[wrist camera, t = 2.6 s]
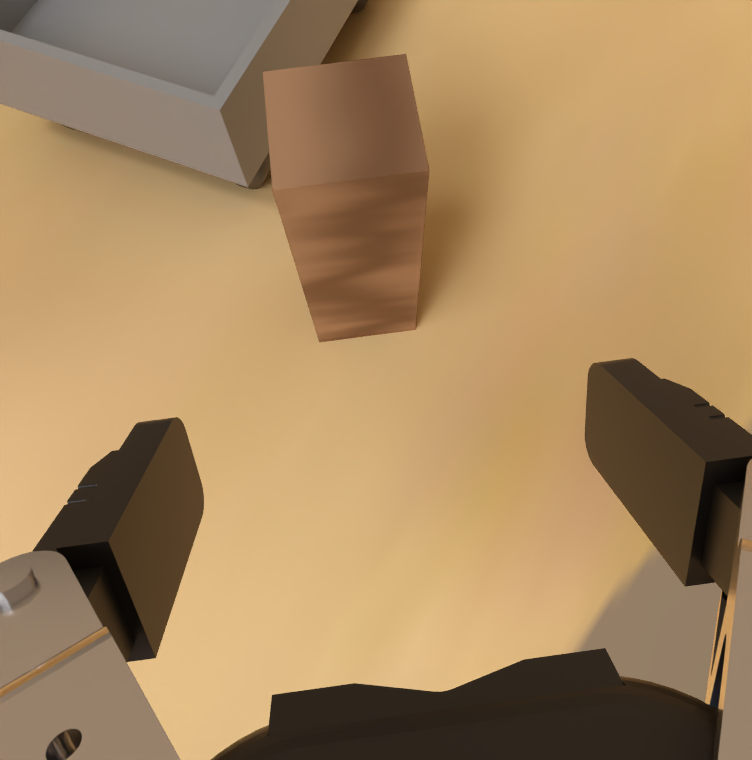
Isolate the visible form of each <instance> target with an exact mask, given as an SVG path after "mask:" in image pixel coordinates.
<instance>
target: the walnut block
mask: <svg viewBox="0 0 752 760" xmlns="http://www.w3.org/2000/svg"><path fill="white" fill-rule="evenodd" d="M263 81H264V93H265V105H266V118H267V130H268V142H269V155H270V167H271V179H272V190H273V194H274V197H275V200H276V203H277V207H278V210H279V213H280V216H281V220H282V223H283V226H284V229H285V232H286V236H287V239H288V242H289V245H290V249H291V252H292V255H293V258H294V261H295V265H296V268H297V271H298V274H299V278H300V281H301V284H302V287H303V291H304V294H305V297H306V300H307V303H308V307H309V310H310V313H311V316H312V320H313V323H314V326H315V329H316V332H317V336H318V339H319V342H324V341H332V340H340V339H347V338H355V337H363V336H370V335H378V334H386V333H393V332H401V331H408V330H415V327H416V316H417V304H418V293H419V281H420V270H421V259H422V247H423V236H424V224H425V213H426V201H427V190H428V178H429V167H428V162H427V157H426V152H425V147H424V142H423V137H422V132H421V127H420V122H419V117H418V112H417V107H416V102H415V97H414V92H413V87H412V82H411V76H410V71H409V66H408V61H407V56H406V54H403V55H395V56H386V57H378V58H370V59H362V60H354V61H346V62H338V63H329V64H321V65H313V66H305V67H297V68H289V69H281V70H272V71H264V72H263Z"/></svg>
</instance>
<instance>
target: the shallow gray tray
mask: <svg viewBox="0 0 752 760" xmlns="http://www.w3.org/2000/svg"><path fill="white" fill-rule="evenodd" d="M367 2H368V0H0V104H3V105H6V106H9V107H12V108H15V109H18V110H20V111H23V112H26V113H29V114H32V115H35V116H38V117H41V118H44V119H47V120H50V121H53V122H56V123H59V124H61V125H63V126H65V127H68V128H70V129H76V130H80V131H83V132H86V133H89V134H92V135H95V136H97V137H100V138H103V139H106V140H109V141H112V142H115V143H118V144H121V145H124V146H127V147H130V148H133V149H136V150H139V151H142V152H145V153H148V154H151V155H154V156H157V157H160V158H163V159H166V160H169V161H171V162H174V163H177V164H180V165H183V166H186V167H189V168H192V169H195V170H198V171H201V172H204V173H207V174H210V175H213V176H216V177H219V178H222V179H225V180H228V181H231V182H234V183H236V184H238V185H240V186H242V187H245V188H249V189H257V188H259V187H260V186H261V185H262V183H263V182H264V180H265V178H266V176H267V175H268V173H269V171H270V169H271V167H270V155H269V142H268V130H267V118H266V105H265V93H264V81H263V72H264V71H272V70H281V69H289V68H297V67H305V66H313V65H320V64H321V62H322V61H323V59H324V57H325V56H326V54H327V52H328V51H329V49H330V47H331V45H332V44H333V42H334V40H335V39H336V37H337V35H338V34H339V32H340V30H341V28H342V27H343V25H344V23H345V22H346V20H347V18H348V17H349V15H350V13H351V12H358V11H360V10H362V9H363V8H364V7H365V5H366V4H367Z"/></svg>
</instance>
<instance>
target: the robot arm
mask: <svg viewBox="0 0 752 760" xmlns="http://www.w3.org/2000/svg"><path fill="white" fill-rule="evenodd" d="M585 442H586V448H587V451H588V455H589V457H590V460H591V462H592V463H593V465H594V466H595V468H596V469H597V470H598V472H599V473H600V474H601V476H602V477H603V478H604V479H605V481H606V482H607V483H608V485H609V486H610V487H611V489H612V490H613V491H614V493H615V494H616V495H617V497H618V498H619V499H620V501H621V502H622V503H623V505H624V506H625V507H626V509H627V510H628V511H629V513H630V514H631V515H632V517H633V518H634V519H635V521H636V522H637V523H638V525H639V526H640V527H641V529H642V530H643V531H644V533H645V534H646V535H647V537H648V538H649V539H650V541H651V542H652V543H653V544H654V546H655V547H656V548H657V550H658V551H659V552H660V554H661V555H662V556H663V558H664V559H665V560H666V562H667V563H668V564H669V566H670V567H671V568H672V570H673V571H674V572H675V574H676V575H677V576H678V578H679V579H680V580H681V582H682V583H683V584H684V586H692V585H699V584H707V583H714V582H716V583H717V585H718V586H719V587H720V588H721V589H722V592H721V597H720V602H719V606H718V613H717V621H716V628H715V635H714V642H713V650H712V656H711V664H710V670H709V677H708V685H707V692H706V698H705V702H703V701H701V700H699V699H697V698H695V697H692V696H690V695H687V694H685V693H682V692H680V691H678V690H675V689H672V688H669V687H666V686H663V685H659V684H656V683H653V682H649V681H644V680H639V679H635V678H629V677H622V676H619V674H618V673H617V670H616V669H615V666H614V665H613V663H612V661H611V659H610V657H609V655H608V653H607V651H606V649H605V648H604V649H597V650H590V651H583V652H575V653H568V654H561V655H554V656H547V657H540V658H533V659H525V660H522V661H520V662H517V663H515V664H512V665H510V666H507V667H505V668H503V669H500V670H498V671H495V672H493V673H490V674H488V675H486V676H483V677H481V678H478V679H476V680H473V681H471V682H468V683H466V684H464V685H461V686H459V687H456V688H454V689H451V690H448V691H443V692H431V691H422V690H412V689H403V688H393V687H384V686H374V685H364V684H355V683H354V684H347V685H340V686H333V687H326V688H319V689H311V690H304V691H297V692H290V693H283V694H276V695H272V701H271V711H270V720H269V725H268V726H266V727H263V728H261V729H258V730H256V731H254V732H253V733H251V734H249V735H247V736H245V737H243V738H241V739H240V740H238V741H236V742H235V743H233V744H232V745H230V746H229V747H227V748H226V749H224V750H223V751H221V752H220V753H219V754H217V755H216V756H215V757H214V758H212V759H211V760H752V435H751V434H750V433H749V432H747V431H746V430H745V429H743V428H742V427H741V426H739V425H738V424H737V423H735V422H734V421H733V420H731V419H730V418H729V417H728V418H725V416H724V414H723V413H722V412H721V411H719V410H718V409H717V408H715V407H714V406H710V405H709V402H707V401H706V400H705V399H703V398H702V397H701V396H699V395H698V394H697V393H695V392H694V391H693V390H691V389H689V388H687V387H684V386H682V385H679V384H677V383H674V382H672V381H669V380H667V379H660V378H659V377H658V376H656V375H655V374H654V373H653V372H651V371H650V370H649V369H647V368H646V367H645V366H644V365H642V364H641V363H640V362H639V361H637V360H636V359H634V358H629V359H622V360H614V361H606V362H599V363H594V364H592V365H591V367H590V369H589V373H588V385H587V403H586V421H585ZM67 502H68V504H67V505H64V507H63V508H62V510H61V511H60V512H59V514H58V515H57V517H56V518H55V520H54V521H53V522H52V524H51V525H50V527H49V528H48V530H47V531H46V533H45V534H44V535H43V537H42V538H41V540H40V541H39V543H38V544H37V546H36V547H35V548H34V550H33V551H32V552H29V553H25V554H21V555H19V556H16V557H13V558H10V559H8V560H6V561H4V562H1V563H0V760H180V758H179V756H178V755H177V753H176V751H175V749H174V747H173V745H172V744H171V742H170V740H169V738H168V736H167V735H166V733H165V731H164V729H163V727H162V726H161V724H160V722H159V720H158V718H157V717H156V715H155V713H154V711H153V709H152V708H151V706H150V704H149V702H148V700H147V699H146V697H145V695H144V693H143V691H142V690H141V688H140V686H139V684H138V682H137V681H136V679H135V677H134V675H133V673H132V671H131V670H130V668H129V666H128V664H127V662H130V661H137V660H144V659H152V658H156V656H157V652H158V649H159V646H160V643H161V640H162V637H163V634H164V631H165V628H166V625H167V622H168V619H169V616H170V613H171V610H172V607H173V604H174V601H175V598H176V595H177V592H178V589H179V585H180V582H181V579H182V576H183V573H184V570H185V567H186V564H187V561H188V558H189V555H190V552H191V549H192V546H193V543H194V540H195V537H196V534H197V531H198V528H199V525H200V522H201V518H202V515H203V509H204V495H203V488H202V483H201V480H200V477H199V473H198V470H197V466H196V463H195V460H194V456H193V453H192V450H191V446H190V443H189V440H188V436H187V433H186V430H185V427H184V424H183V423H182V421H181V420H180V419H179V418H177V417H176V418H168V419H161V420H153V421H146V422H139V423H137V424H136V425H135V426H134V428H133V429H132V431H131V432H130V434H129V435H128V437H127V439H126V440H125V442H124V443H123V445H122V446H121V448H120V449H119V450H116V451H111V452H110V453H109V454H108V455H106V456H105V457H104V458H103V459H101V460H100V461H99V462H97V463H96V464H95V465H94V466H92V467H91V468H90V469H89V471H88V472H87V474H86V475H85V476H84V478H83V479H82V481H81V482H80V484H79V485H78V489H77V490H75V491H74V492H73V494H72V495H71V497H70V498H69V499H68V501H67Z"/></svg>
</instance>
